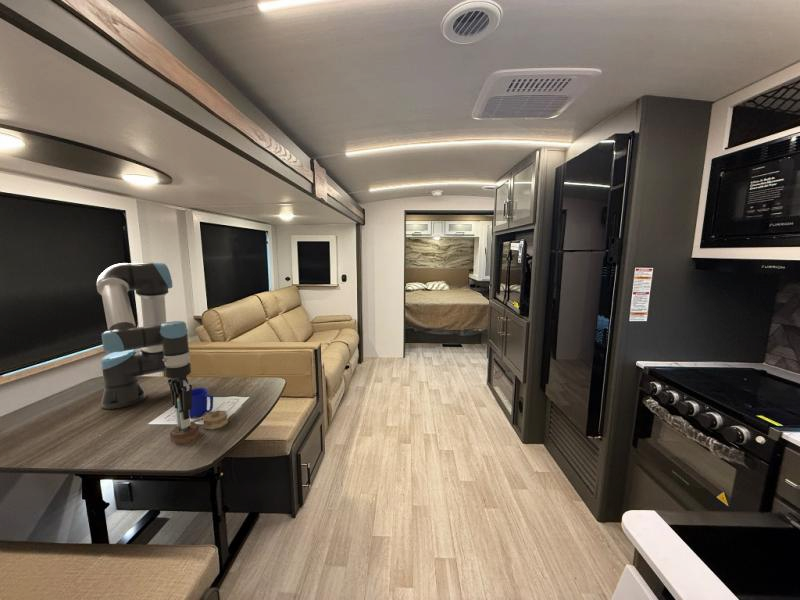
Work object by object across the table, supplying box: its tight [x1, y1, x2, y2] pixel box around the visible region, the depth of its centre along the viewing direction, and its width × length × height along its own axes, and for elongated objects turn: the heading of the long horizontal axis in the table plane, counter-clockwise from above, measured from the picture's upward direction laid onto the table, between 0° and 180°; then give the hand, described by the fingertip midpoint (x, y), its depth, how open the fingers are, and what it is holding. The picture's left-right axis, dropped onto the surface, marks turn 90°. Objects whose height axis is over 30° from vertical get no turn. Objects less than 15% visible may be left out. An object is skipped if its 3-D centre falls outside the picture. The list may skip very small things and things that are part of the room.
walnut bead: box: [169, 421, 200, 445], centre depth 115 cm, size 8×8×4 cm
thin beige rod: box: [190, 414, 206, 423], centre depth 126 cm, size 14×1×1 cm, turn 147°
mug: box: [189, 387, 214, 418], centre depth 131 cm, size 8×12×10 cm
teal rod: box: [177, 397, 189, 431], centre depth 114 cm, size 2×2×16 cm
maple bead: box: [202, 409, 229, 430], centre depth 124 cm, size 8×8×4 cm
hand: (184, 425), depth 115 cm, fingers closed on teal rod, 2 cm apart
